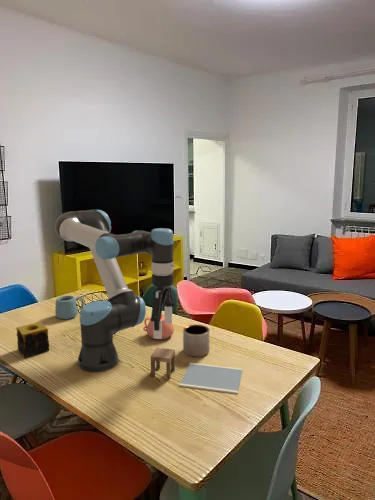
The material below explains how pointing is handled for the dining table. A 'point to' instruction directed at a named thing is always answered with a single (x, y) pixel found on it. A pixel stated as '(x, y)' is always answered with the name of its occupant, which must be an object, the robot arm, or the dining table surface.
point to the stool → (163, 360)
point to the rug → (212, 378)
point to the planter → (196, 340)
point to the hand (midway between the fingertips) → (163, 330)
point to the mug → (67, 307)
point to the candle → (32, 339)
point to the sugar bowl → (166, 328)
